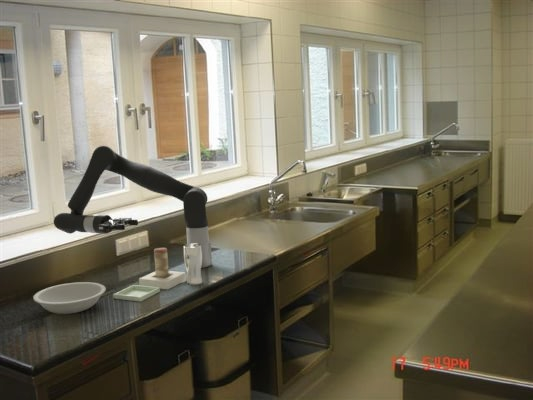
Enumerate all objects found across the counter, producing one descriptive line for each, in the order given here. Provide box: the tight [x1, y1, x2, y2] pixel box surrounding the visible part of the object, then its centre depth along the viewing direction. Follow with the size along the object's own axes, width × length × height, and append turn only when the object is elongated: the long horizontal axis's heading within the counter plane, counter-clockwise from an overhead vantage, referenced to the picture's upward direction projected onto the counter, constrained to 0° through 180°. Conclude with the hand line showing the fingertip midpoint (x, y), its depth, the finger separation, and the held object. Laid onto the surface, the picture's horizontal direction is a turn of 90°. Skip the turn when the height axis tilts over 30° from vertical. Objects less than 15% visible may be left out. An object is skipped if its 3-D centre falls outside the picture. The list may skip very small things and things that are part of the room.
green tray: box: [112, 284, 161, 302], centre depth 231 cm, size 12×12×2 cm
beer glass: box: [183, 243, 203, 286], centre depth 243 cm, size 7×7×15 cm
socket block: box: [138, 270, 187, 290], centre depth 244 cm, size 13×13×4 cm
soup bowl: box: [32, 281, 107, 315], centre depth 218 cm, size 24×24×7 cm
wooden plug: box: [153, 247, 170, 278], centre depth 243 cm, size 5×5×14 cm
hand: (130, 224), depth 246 cm, fingers open, 8 cm apart
